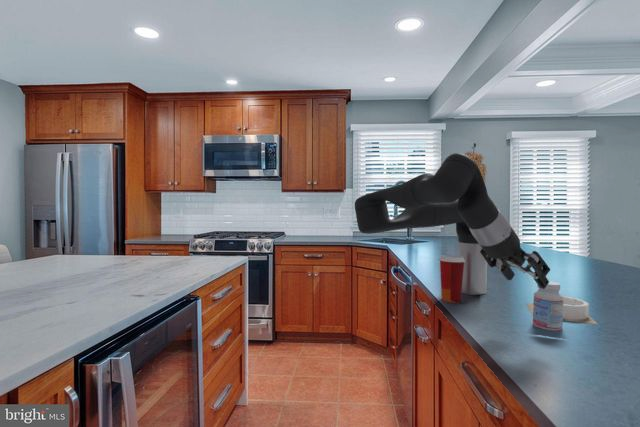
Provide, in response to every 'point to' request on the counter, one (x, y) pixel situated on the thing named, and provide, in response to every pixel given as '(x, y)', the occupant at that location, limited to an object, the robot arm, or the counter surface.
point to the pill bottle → (548, 307)
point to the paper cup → (451, 277)
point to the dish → (575, 308)
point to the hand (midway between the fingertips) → (527, 281)
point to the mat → (588, 320)
